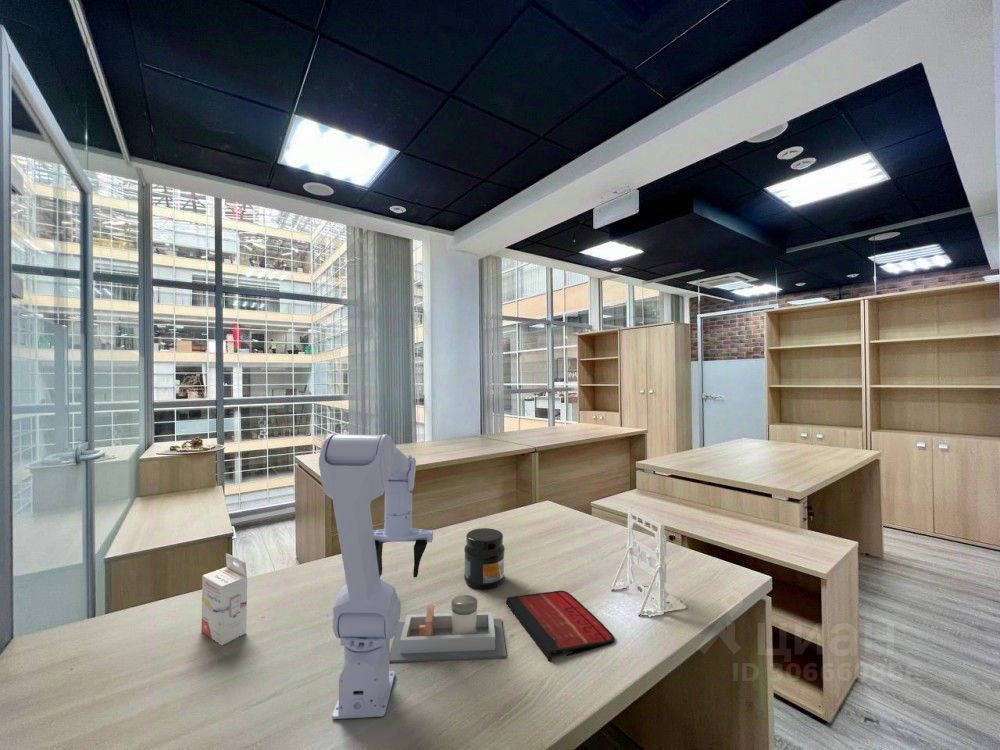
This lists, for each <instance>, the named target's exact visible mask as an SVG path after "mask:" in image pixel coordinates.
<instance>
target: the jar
mask: <svg viewBox="0 0 1000 750" xmlns="http://www.w3.org/2000/svg"><path fill="white" fill-rule="evenodd" d="M450 604H451V606H450V607H451V613H452V635H469V634H476V628H477V612H478V611H477V610H478V599H477V598H476V597H475V596H473V595H468V594H463V595H458V596H455V597H454V598H452V600H451V603H450Z"/></svg>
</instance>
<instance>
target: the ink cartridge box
mask: <svg viewBox="0 0 1000 750" xmlns="http://www.w3.org/2000/svg"><path fill="white" fill-rule="evenodd" d="M225 561H226V563H225V564H226V566H225V567H221V568H220V569H217V570H214V571H211V572H208V573H205V574H202V578H201V579H202V588H201V589H202V592H201V593H202V594H201V631H200V632H201V633H202V634H204V635H206V636H207V637H209V638H210V639H211V640H213V641H214V640H215V641H214V642H216V643H217V642H218V644H219V646H220V645H221V646H224V645H226V644H228V643H230V642H232V641H233V640H235V639H238V638H239V636H240V637H241V636H243V635H245V634H247V615H248V614H247V611H248V609H247V607H248V606H247V605H248V576H247V564H246V561H244V560H242V559H240V558H238V557H236V556H234V555H233V554H232V555H231V554H229V553H228V552H227V553H225ZM234 563H236V564H237V565H236V564H234Z"/></svg>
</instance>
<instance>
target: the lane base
mask: <svg viewBox="0 0 1000 750" xmlns="http://www.w3.org/2000/svg"><path fill="white" fill-rule="evenodd" d="M426 615H427V613H418V614H414V613H413V614H406V617H405V620H404V621H399V626H398V630H397V632H396V634H395V635H394V636H393V638H392V639H393V640H392V643H391V646H390V659H389V664H390V663H411V662H412V663H413V662H435V661H438V662H439V661H458V660H479V659H480V660H482V659H483V660H484V659H485V660H486V659H504V658H506V659H507V651H506V645H505V643H506V642H505V637H504V636H505V635H504V629H503V622H502V618H494V612H493V611H479V612H478V611H477V628H476V634H469V635H452V612H450V613H447V612H446V613H445V612H443V613H434V631H433V636H419V627H420V625H425V620H426Z"/></svg>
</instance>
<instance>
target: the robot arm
mask: <svg viewBox="0 0 1000 750" xmlns="http://www.w3.org/2000/svg"><path fill="white" fill-rule="evenodd" d="M318 468H319V473H320V478H321V479H320V480H321V484H322V488H323V493H324V494H325V496H327V497H329V498H330V499H331V500H332V505H333V507H332V508H333V512H334V517H335V523H336V529H337V534H338V535H337V536H338V541H339V545H340V548H339V549H340V551H341V552H340V553H341V558H342V563H343V564H342V565H343V570H344V575H345V576H346V582H347V584H346V585H345V584H344V585H343V586H342V588H340V589H339V590H340V591H339V592H338V594H337V596H336V599H335V601H334V603H333V607H332V614H333V617H332V632H333V634H334V636H335V638H336V639H340V646H342V647H344V651H343V652H344V656H343V657H344V659H343V660H344V661H343V666H342V669H341V672H340V674H339V676H338V677H339V678H338V699H337V702H336V704H335V706H334V709H333V711H332V713H331V718H332V719H333V720H338V719H340V720H341V719H342V720H343V719H355V718H357V719H358V718H359V719H361V718H374V717H375V718H376V717H377V718H378V717H379V718H380V717H384V716H385V714H386V711H387V707H388V703H389V700H390V695H391V692H392V688H393V682H394V679H395V676H396V671H394V670H390V663H389V659H390V649H391V646H390V644H391V642H390V641H391V640H392V639H394V636H395V634H396V632H397V630H398V626H399V622H401V621H400V620H401V619H400V618H401V611H402V610H401V608H402V607H401V605H402V604H401V600H400V598H399V597H398V592H396V587H395V586H393V585H391V584H390V583H388V582H387V581H385V580H383V579H381V576H382V574H383V545H384V543H391V542H393V543H394V542H395V543H396V542H398V543H401V542H404V543H405V542H415V543H414V545H413V574H412V575H413V578H417V577H418V575H419V569H420V564H421V559H422V557H423V554H424V553H425V551H426V548H427V545H428V543H432V542H433V540H434V539H433V537H434V530H433V529H421V528H415V527H413V490H414V488H415V478H416V473H417V472H416V471H417V460H416V458H415V457H412V454H404V453H403V451H401V450H400V449H399V448H398V447H397V445H396V444H395V443H394V440H393V438H392V437H391V435H390V434H387V433H384V434H338V433H333V432H332V433H330V434H328V435H327V437H326V438H325V439H324V441H323V442H322V445H321V448H320V453H319V457H318ZM383 495H384V517H383V518H384V521H383V522H384V528H382V529H381V528H380V529H374V525H373V518H372V510H371V503H372V502H373V501H374V500H376V499H378V498H379V497H381V496H383ZM345 576H344V577H345Z"/></svg>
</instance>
